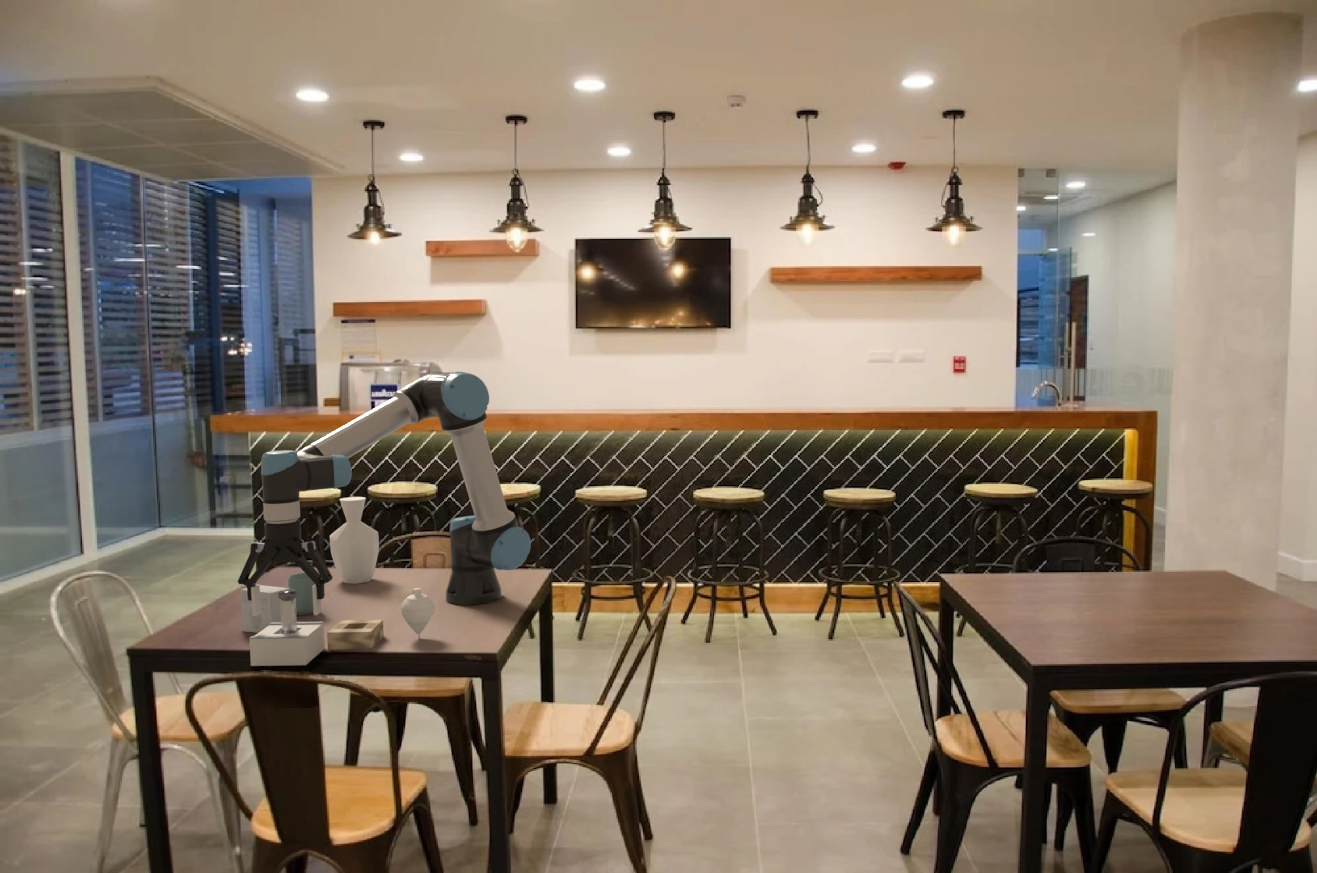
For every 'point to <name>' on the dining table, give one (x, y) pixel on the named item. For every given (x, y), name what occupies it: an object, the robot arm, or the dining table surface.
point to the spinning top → (417, 610)
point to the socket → (287, 645)
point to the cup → (302, 592)
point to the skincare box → (268, 609)
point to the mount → (355, 634)
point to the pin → (288, 610)
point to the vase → (354, 544)
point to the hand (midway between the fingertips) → (287, 614)
